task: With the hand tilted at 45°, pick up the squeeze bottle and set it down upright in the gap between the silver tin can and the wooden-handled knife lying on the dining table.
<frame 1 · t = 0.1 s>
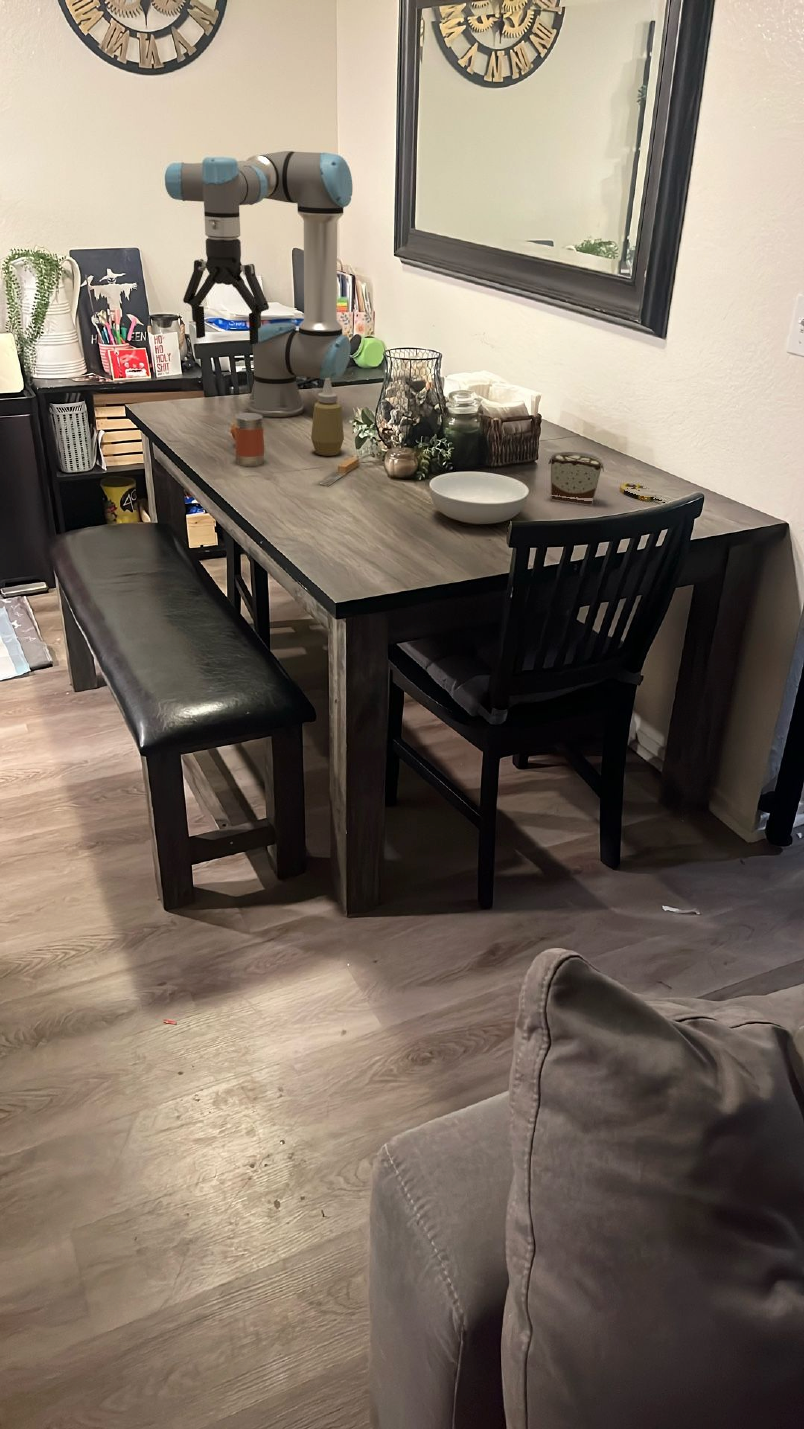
hand: (227, 340, 240), 28 cm above the table, tool pointing down, fingers open, 13 cm apart
serving bowl: (476, 518, 226), on the table
food container: (573, 500, 240), on the table
fruit: (248, 447, 267), on the table
squeeze bottle: (327, 453, 264), on the table
knife: (339, 474, 249), on the table
overripe banana: (646, 499, 242), on the table
tin can: (250, 462, 255), on the table
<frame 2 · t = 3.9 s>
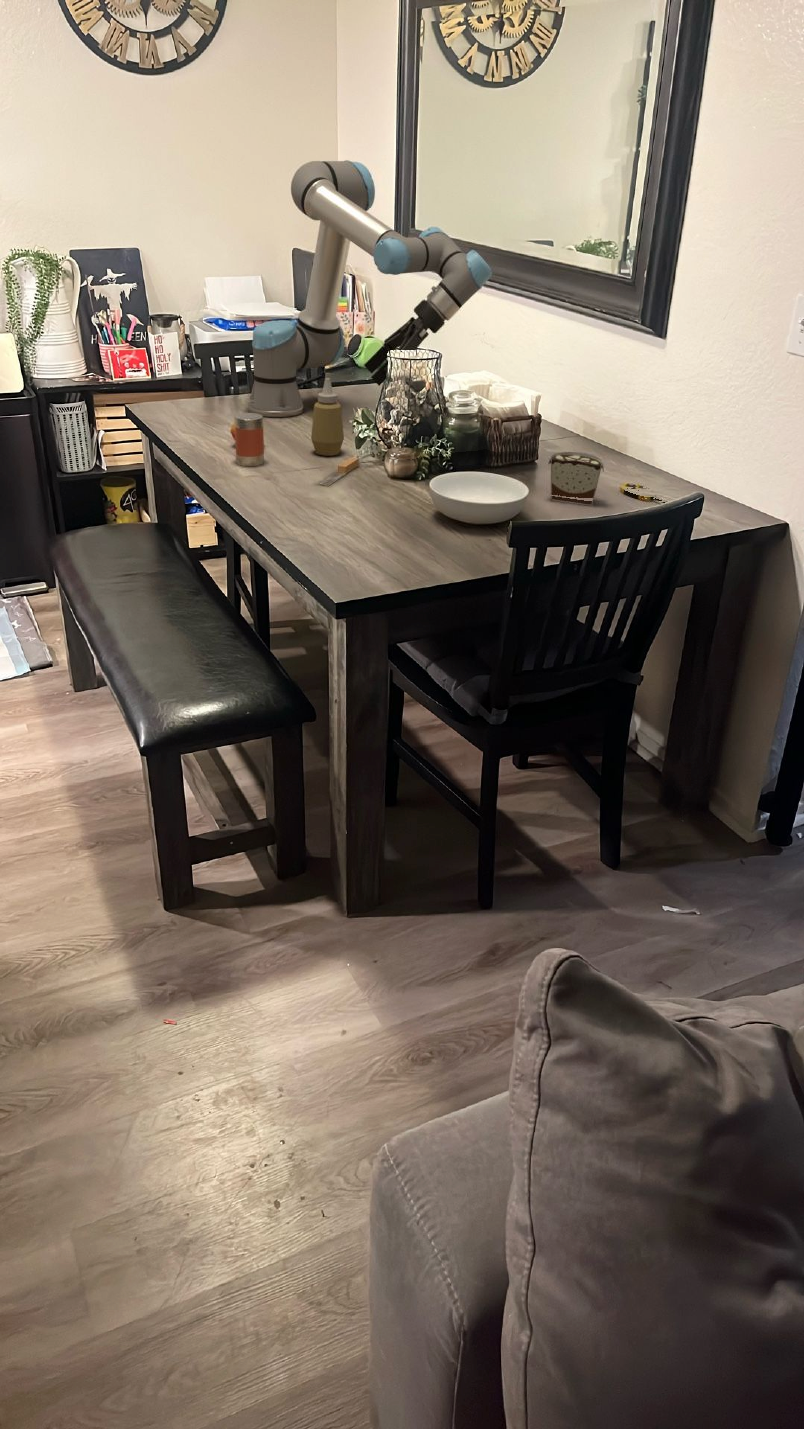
hand: (371, 375, 256), 19 cm above the table, tool tilted 45°, fingers open, 13 cm apart
nothing on the table moved.
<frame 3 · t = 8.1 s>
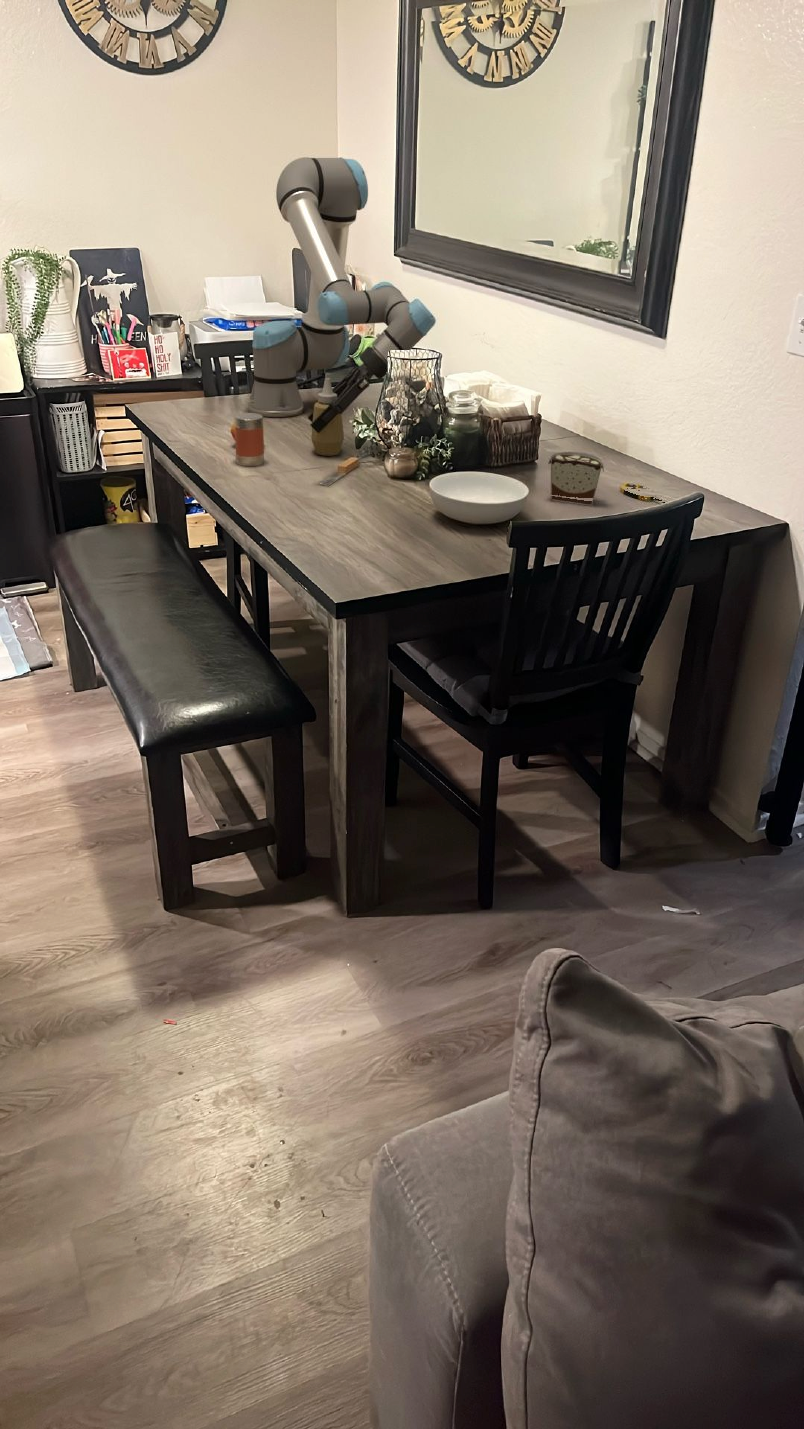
hand: (313, 425, 260), 7 cm above the table, tool tilted 45°, fingers closed on squeeze bottle, 6 cm apart
squeeze bottle: (327, 453, 264), on the table, touching gripper
everything else where it was.
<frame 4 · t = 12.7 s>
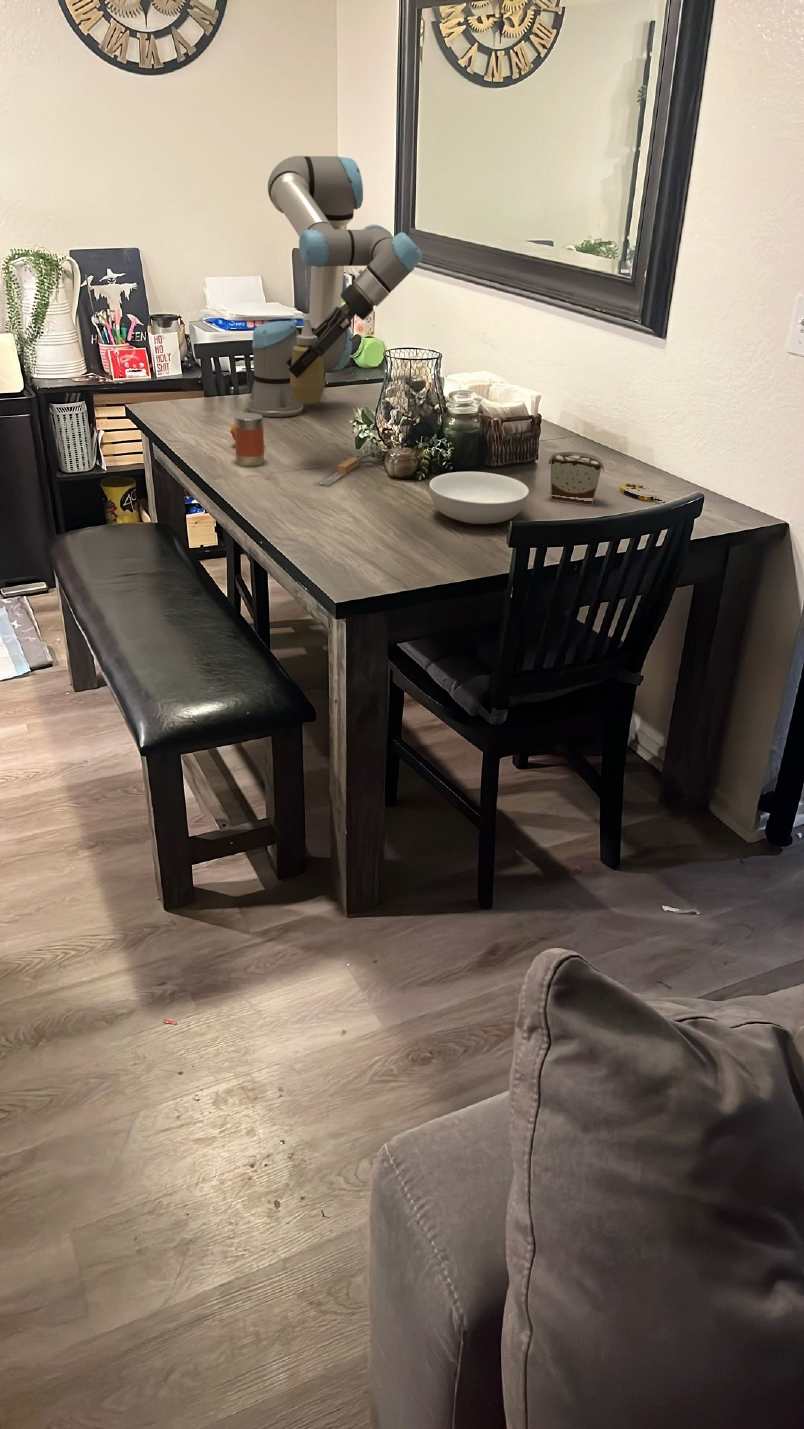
hand: (291, 370, 243), 22 cm above the table, tool tilted 45°, fingers closed on squeeze bottle, 6 cm apart
squeeze bottle: (307, 401, 247), point 15 cm above the table, touching gripper
everything else where it was.
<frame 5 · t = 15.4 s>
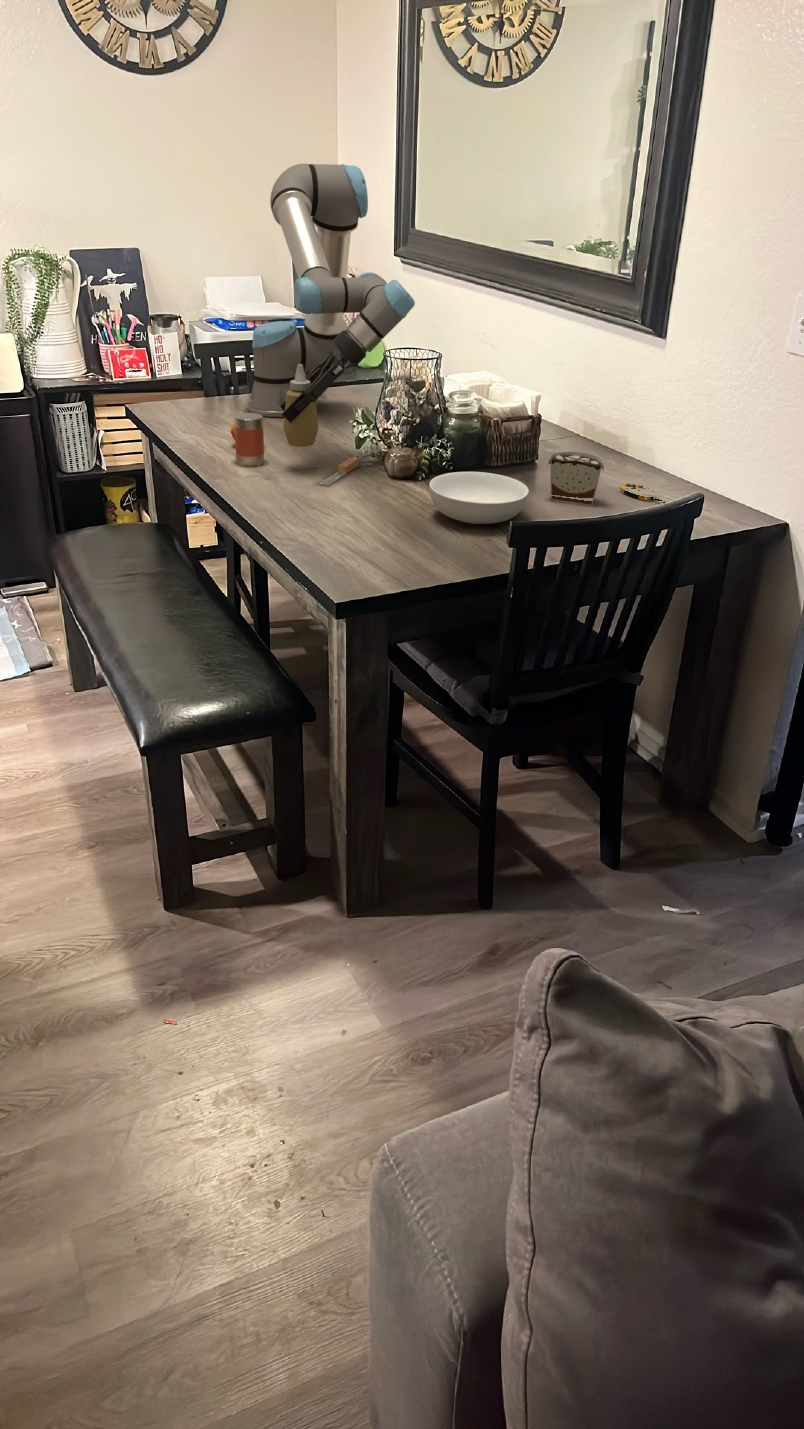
hand: (285, 414, 245), 13 cm above the table, tool tilted 45°, fingers closed on squeeze bottle, 6 cm apart
squeeze bottle: (301, 445, 249), point 6 cm above the table, touching gripper
everything else where it was.
when the fingers open (7 cm above the table, at t = 17.4 s): squeeze bottle stays where it is, on the table.
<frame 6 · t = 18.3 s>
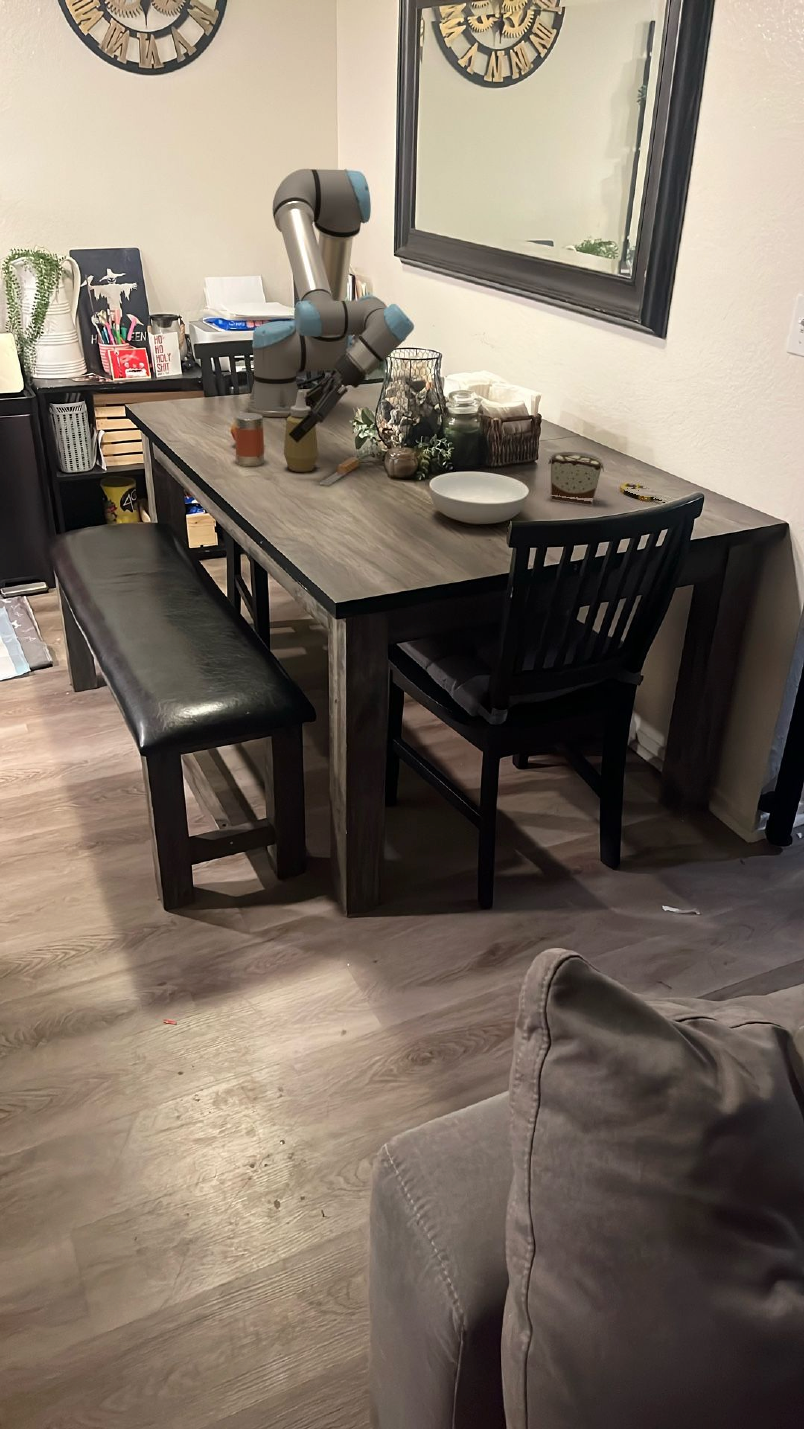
hand: (290, 430, 247), 9 cm above the table, tool tilted 45°, fingers open, 13 cm apart
squeeze bottle: (301, 469, 252), on the table
everything else where it was.
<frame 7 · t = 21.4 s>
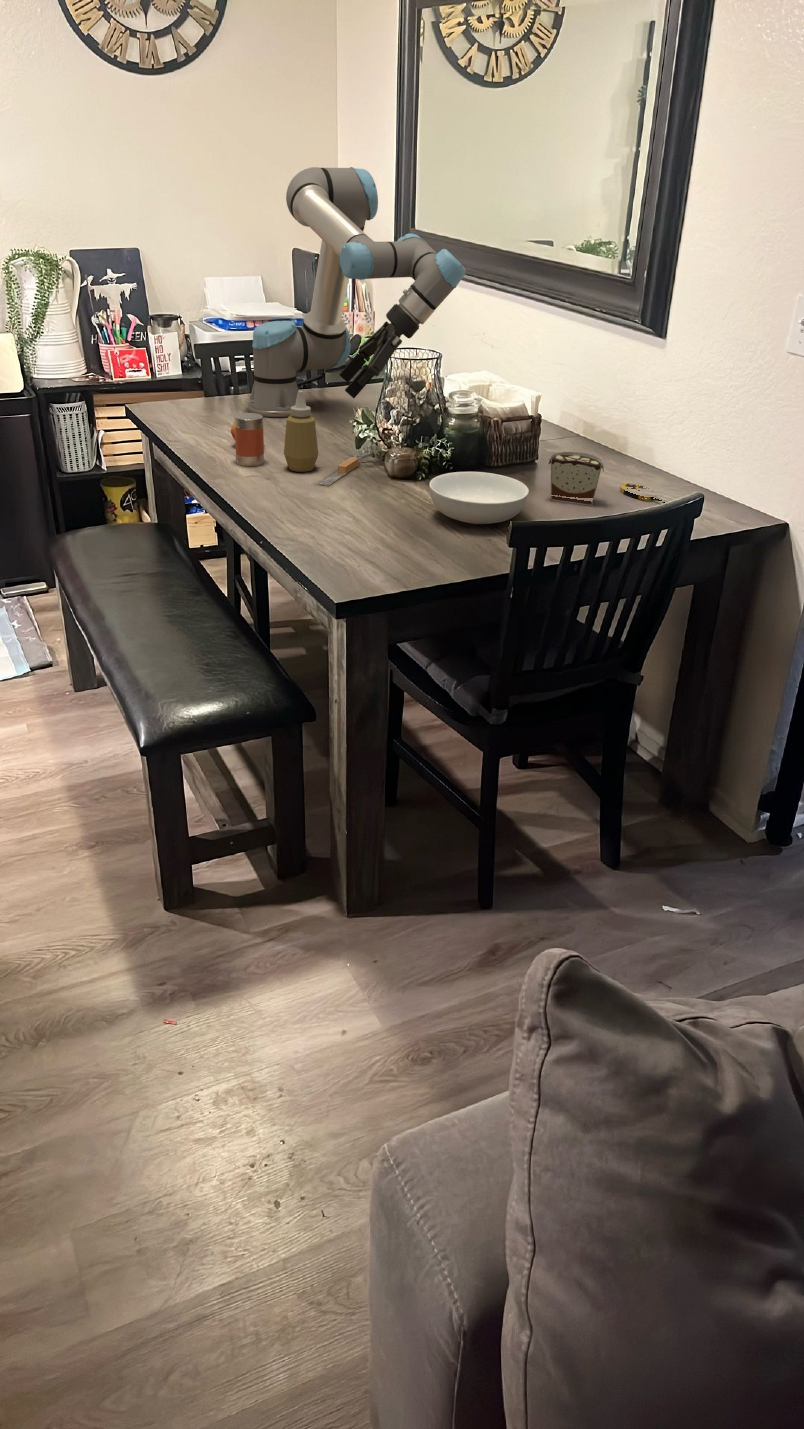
hand: (346, 386, 245), 19 cm above the table, tool tilted 40°, fingers open, 13 cm apart
nothing on the table moved.
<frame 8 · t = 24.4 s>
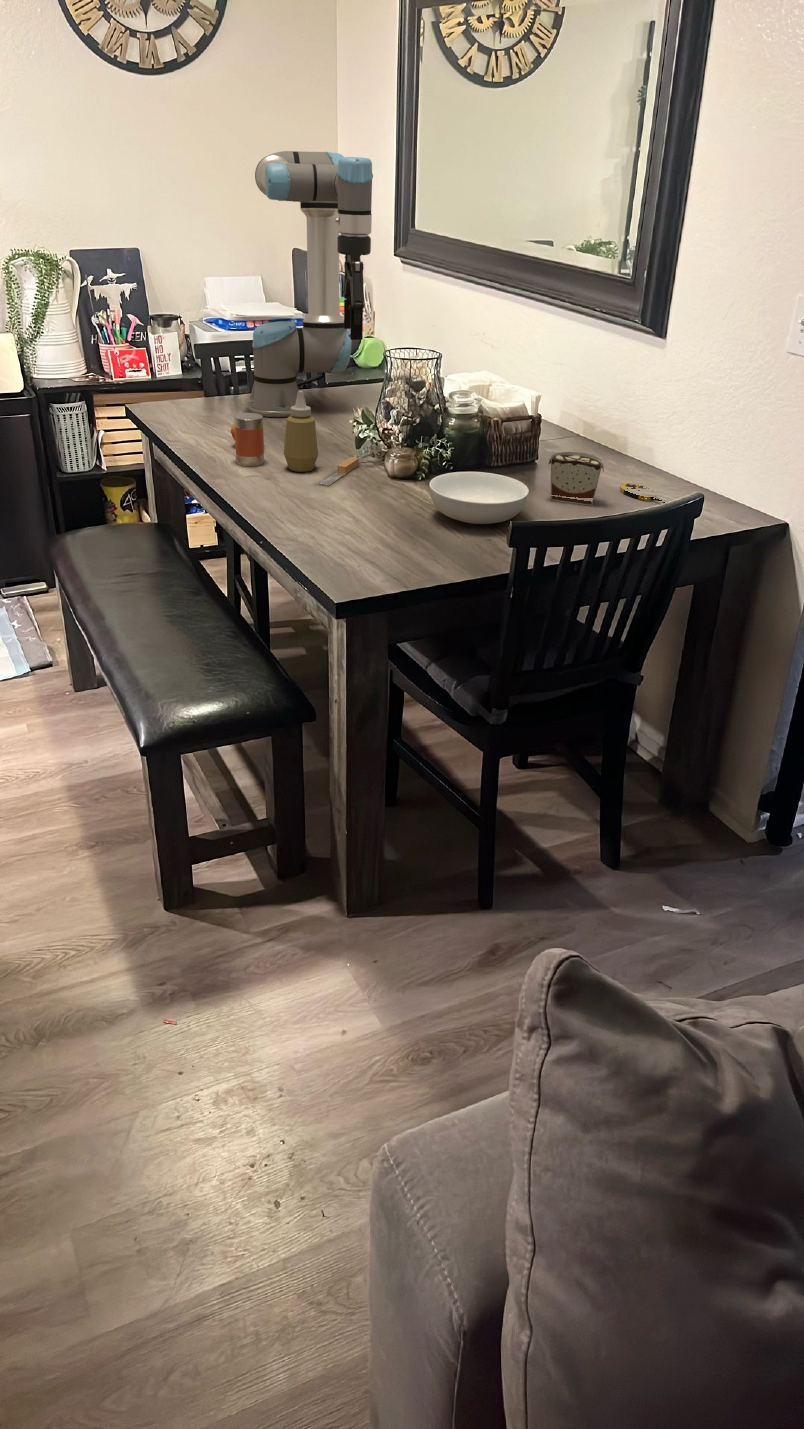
hand: (352, 334, 249), 29 cm above the table, tool pointing down, fingers open, 13 cm apart
nothing on the table moved.
at the end: squeeze bottle inside the target area (0.2 cm from its centre), on the table; squeeze bottle tilted 0°; the gripper is holding nothing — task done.
